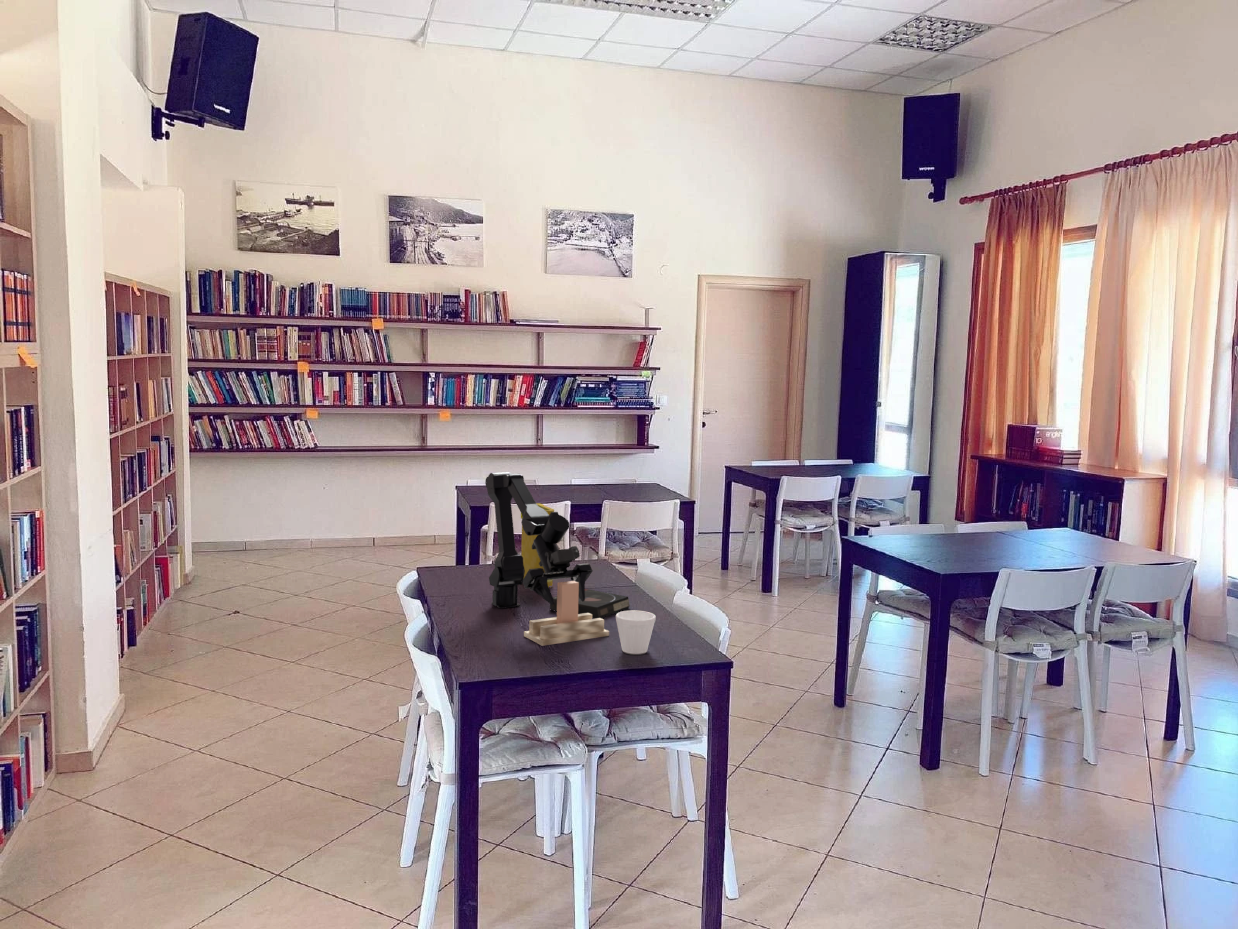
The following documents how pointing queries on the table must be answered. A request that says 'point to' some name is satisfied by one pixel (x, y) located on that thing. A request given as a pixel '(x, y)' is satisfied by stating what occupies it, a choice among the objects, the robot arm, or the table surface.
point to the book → (530, 554)
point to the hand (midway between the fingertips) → (568, 602)
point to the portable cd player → (599, 603)
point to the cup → (635, 630)
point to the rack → (565, 630)
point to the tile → (567, 601)
